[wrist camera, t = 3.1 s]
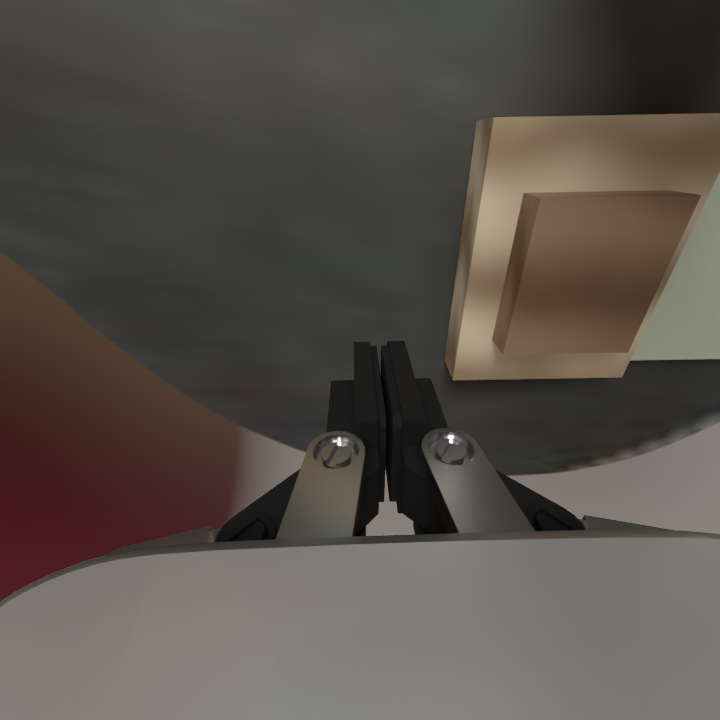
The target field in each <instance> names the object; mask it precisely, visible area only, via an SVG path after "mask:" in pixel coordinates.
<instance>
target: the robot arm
mask: <svg viewBox="0 0 720 720" xmlns="http://www.w3.org/2000/svg"><path fill="white" fill-rule="evenodd" d="M385 465H386V474H387V482H388V492H389V500H390V501H396V502H397V510H398V513H403V514H404V515H406V516H407V517H408V518H410V519H411V520H412V521H414V522H413V527H414V532H415V535H393V536H392V535H391V536H366V525H367V524H368V523H369V522H370V521H371V520H372V519H373V518H374V517H375V516H376V515H377V514H378V509H379V508H378V507H379V502H384V488H385V487H384V486H385ZM0 720H720V535H719V534H710V533H701V532H690V531H674V530H669V529H662V528H657V527H651V526H645V525H639V524H633V523H627V522H622V521H616V520H609V519H604V518H598V517H592V516H586V515H584V517H583V519H582V520H581V519H577V518H576V517H575V516H574V515H573V514H572V513H570V512H569V511H567V510H566V509H564V508H563V507H561V506H559V505H558V504H556V503H554V502H552V501H550V500H549V499H547V498H545V497H543V496H541V495H540V494H537V493H536V492H534V491H532V490H531V489H529V488H527V487H525V486H524V485H522V484H520V483H518V482H516V481H515V480H513V479H511V478H509V477H507V476H506V475H504V474H502V473H500V472H498V471H497V470H495V469H494V467H493V466H492V464H491V463H490V461H489V460H488V458H487V457H486V455H485V454H484V452H483V451H482V449H481V448H480V446H479V444H478V443H477V442H476V441H475V440H474V439H473V438H472V437H471V436H469V435H468V434H466V433H465V432H462V431H460V430H457V429H451V428H448V426H447V423H446V421H445V418H444V415H443V412H442V409H441V407H440V404H439V401H438V398H437V395H436V393H435V390H434V387H433V384H432V381H431V379H429V378H420V379H415V377H414V373H413V370H412V366H411V363H410V359H409V356H408V352H407V349H406V345H405V342H404V341H388V342H387V346H381V376H380V369H379V361H378V354H377V346H370V342H354V380H343V381H331V389H330V400H329V411H328V423H327V433H324V434H322V435H320V436H318V437H316V438H315V439H314V440H313V441H312V442H311V443H310V445H309V447H308V449H307V452H306V455H305V458H304V460H303V463H302V466H301V469H299V470H298V471H297V472H295V473H294V474H292V475H291V476H290V477H288V478H287V479H285V480H284V481H283V482H282V483H280V484H278V485H277V486H276V487H274V488H273V489H271V490H270V491H269V492H267V493H266V494H265V495H263V496H262V497H260V498H259V499H257V500H256V501H255V502H253V503H252V504H250V505H249V506H248V507H246V508H245V509H244V510H242V511H241V512H239V513H238V514H237V515H235V516H234V517H232V518H231V519H230V520H229V521H228V522H227V523H226V524H225V525H223V527H222V528H221V529H218V530H214V531H212V530H211V528H210V527H206V528H202V529H198V530H194V531H189V532H185V533H181V534H177V535H173V536H169V537H164V538H160V539H156V540H152V541H148V542H143V543H139V544H135V545H131V546H127V547H124V548H120V549H118V550H115V551H113V552H111V553H109V554H108V555H107V556H103V557H100V558H96V559H92V560H88V561H85V562H82V563H80V564H77V565H74V566H72V567H69V568H66V569H63V570H61V571H58V572H56V573H53V574H51V575H49V576H46V577H44V578H42V579H40V580H38V581H35V582H33V583H31V584H30V585H28V586H26V587H24V588H22V589H20V590H18V591H16V592H15V593H13V594H12V595H10V596H9V597H7V598H6V599H4V600H3V601H1V602H0Z"/></svg>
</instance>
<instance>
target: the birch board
mask: <svg viewBox="0 0 720 720" xmlns="http://www.w3.org/2000/svg"><path fill="white" fill-rule="evenodd" d="M719 172H720V113H700V114H647V115H593V116H540V117H493V118H488V119H483V120H477V123H476V131H475V138H474V145H473V153H472V160H471V167H470V175H469V182H468V190H467V197H466V204H465V212H464V219H463V226H462V234H461V241H460V249H459V256H458V263H457V271H456V278H455V285H454V293H453V300H452V307H451V315H450V322H449V330H448V337H447V344H446V352H445V359H444V360H445V363H446V365H447V368H448V370H449V373H450V375H451V377H452V380H501V379H559V378H616V377H622V376H623V374H624V372H625V370H626V368H627V366H628V364H629V362H630V360H631V357H632V355H633V353H634V351H635V349H636V347H637V345H638V343H639V341H640V339H641V336H642V334H643V332H644V330H645V328H646V326H647V324H648V322H649V320H650V318H651V315H652V313H653V311H654V309H655V307H656V305H657V303H658V301H659V299H660V296H661V294H662V292H663V290H664V288H665V286H666V284H667V282H668V280H669V278H670V275H671V273H672V271H673V269H674V267H675V265H676V263H677V261H678V259H679V257H680V254H681V252H682V250H683V248H684V246H685V244H686V242H687V240H688V238H689V236H690V233H691V231H692V229H693V227H694V225H695V223H696V221H697V219H698V217H699V215H700V212H701V210H702V208H703V206H704V204H705V202H706V200H707V198H708V196H709V194H710V191H711V189H712V187H713V185H714V183H715V181H716V179H717V177H718V175H719ZM656 190H671V191H678V192H685V193H691V194H698V195H701V197H700V199H699V201H698V203H697V206H696V208H695V210H694V212H693V214H692V216H691V219H690V221H689V223H688V225H687V227H686V229H685V231H684V234H683V236H682V238H681V240H680V242H679V244H678V246H677V249H676V251H675V253H674V255H673V257H672V259H671V261H670V264H669V266H668V268H667V270H666V272H665V274H664V277H663V279H662V281H661V283H660V285H659V287H658V289H657V292H656V294H655V296H654V298H653V300H652V302H651V304H650V307H649V309H648V311H647V313H646V315H645V317H644V319H643V322H642V324H641V326H640V328H639V330H638V332H637V335H636V337H635V339H634V341H633V343H632V345H631V347H630V350H629V352H628V353H577V354H520V355H503V354H502V353H501V351H500V350H499V349H498V347H497V346H496V344H495V343H494V341H493V340H492V338H493V333H494V328H495V324H496V319H497V314H498V310H499V305H500V300H501V296H502V291H503V286H504V282H505V277H506V272H507V268H508V263H509V259H510V254H511V249H512V245H513V240H514V235H515V231H516V226H517V221H518V217H519V212H520V207H521V203H522V198H523V193H548V192H602V191H656Z"/></svg>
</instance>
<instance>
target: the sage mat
mask: <svg viewBox="0 0 720 720" xmlns="http://www.w3.org/2000/svg"><path fill="white" fill-rule="evenodd" d="M685 359H720V172H719V175H718V177H717V179H716V181H715V183H714V185H713V187H712V189H711V191H710V194H709V196H708V198H707V200H706V202H705V204H704V206H703V208H702V210H701V212H700V215H699V217H698V219H697V221H696V223H695V225H694V227H693V229H692V231H691V233H690V236H689V238H688V240H687V242H686V244H685V246H684V248H683V250H682V252H681V254H680V257H679V259H678V261H677V263H676V265H675V267H674V269H673V271H672V273H671V275H670V278H669V280H668V282H667V284H666V286H665V288H664V290H663V292H662V294H661V296H660V299H659V301H658V303H657V305H656V307H655V309H654V311H653V313H652V315H651V318H650V320H649V322H648V324H647V326H646V328H645V330H644V332H643V334H642V336H641V339H640V341H639V343H638V345H637V347H636V349H635V351H634V353H633V355H632V357H631V360H685Z"/></svg>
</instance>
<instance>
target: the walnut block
mask: <svg viewBox="0 0 720 720" xmlns="http://www.w3.org/2000/svg"><path fill="white" fill-rule="evenodd" d="M700 197H701V195H698V194H691V193H685V192H678V191H671V190H656V191H602V192H548V193H523V198H522V203H521V207H520V212H519V217H518V221H517V226H516V231H515V235H514V240H513V245H512V249H511V254H510V259H509V263H508V268H507V272H506V277H505V282H504V286H503V291H502V296H501V300H500V305H499V310H498V314H497V319H496V324H495V328H494V333H493V338H492V340H493V341H494V343H495V344H496V346H497V347H498V349H499V350H500V351H501V353H502V354H503V355H520V354H577V353H628V352H629V350H630V347H631V345H632V343H633V341H634V339H635V337H636V335H637V332H638V330H639V328H640V326H641V324H642V322H643V319H644V317H645V315H646V313H647V311H648V309H649V307H650V304H651V302H652V300H653V298H654V296H655V294H656V292H657V289H658V287H659V285H660V283H661V281H662V279H663V277H664V274H665V272H666V270H667V268H668V266H669V264H670V261H671V259H672V257H673V255H674V253H675V251H676V249H677V246H678V244H679V242H680V240H681V238H682V236H683V234H684V231H685V229H686V227H687V225H688V223H689V221H690V219H691V216H692V214H693V212H694V210H695V208H696V206H697V203H698V201H699V199H700Z"/></svg>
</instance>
